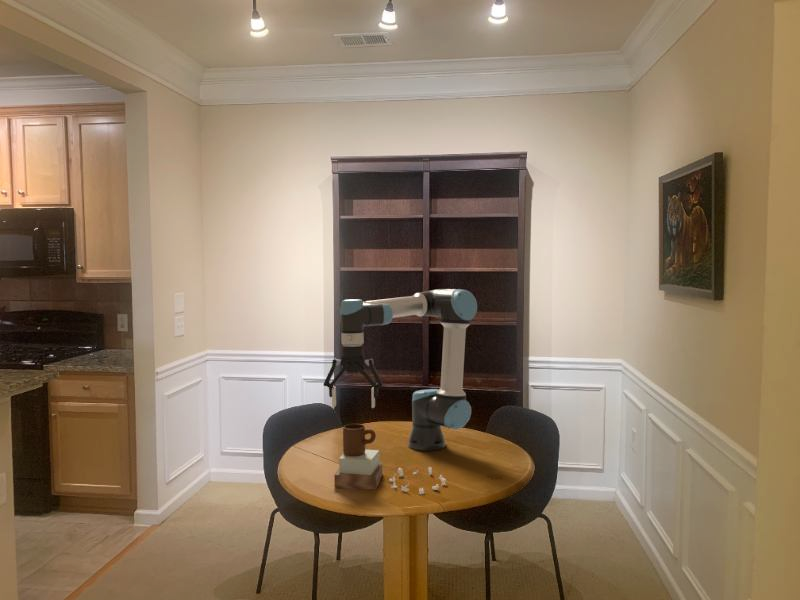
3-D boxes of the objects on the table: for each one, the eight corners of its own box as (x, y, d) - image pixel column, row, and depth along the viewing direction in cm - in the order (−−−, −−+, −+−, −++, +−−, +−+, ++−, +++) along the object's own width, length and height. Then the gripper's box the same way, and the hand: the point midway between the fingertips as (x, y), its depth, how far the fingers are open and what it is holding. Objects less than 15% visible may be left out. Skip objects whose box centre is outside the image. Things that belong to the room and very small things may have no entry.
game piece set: (380, 479, 202) (379, 468, 202) (431, 470, 210) (431, 460, 210) (402, 499, 184) (402, 487, 184) (457, 489, 192) (457, 477, 192)
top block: (379, 464, 203) (379, 450, 203) (370, 475, 192) (370, 460, 192) (349, 462, 205) (349, 448, 205) (339, 472, 195) (339, 458, 194)
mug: (380, 453, 200) (380, 426, 199) (370, 459, 193) (370, 431, 192) (350, 448, 205) (349, 422, 204) (339, 455, 198) (338, 428, 197)
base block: (382, 476, 205) (382, 462, 205) (376, 491, 192) (376, 476, 191) (343, 474, 207) (343, 461, 207) (334, 489, 193) (334, 474, 193)
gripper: (313, 346, 195) (315, 408, 196) (387, 346, 192) (388, 409, 193) (319, 343, 202) (320, 403, 203) (390, 343, 199) (391, 404, 201)
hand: (353, 406), depth 198 cm, fingers open, 13 cm apart
